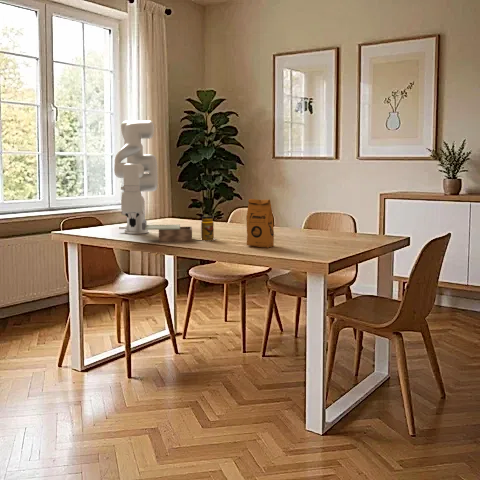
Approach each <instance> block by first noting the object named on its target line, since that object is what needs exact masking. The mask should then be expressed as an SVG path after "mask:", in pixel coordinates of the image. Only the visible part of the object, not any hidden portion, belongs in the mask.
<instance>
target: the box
mask: <svg viewBox="0 0 480 480" xmlns="http://www.w3.org/2000/svg"><path fill="white" fill-rule="evenodd" d="M192 242H193V228H192V226H180V229H167V230H158V243H192Z"/></svg>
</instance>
